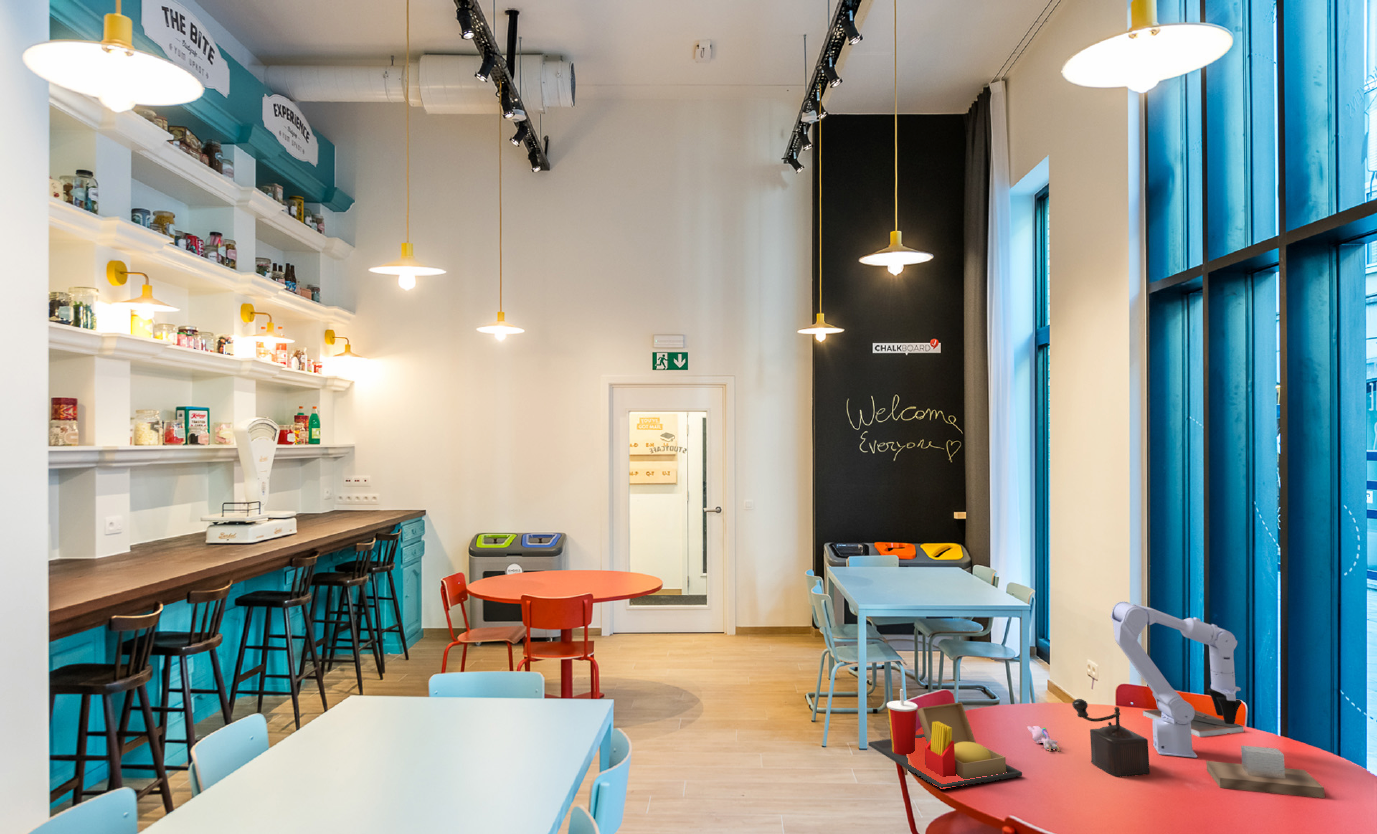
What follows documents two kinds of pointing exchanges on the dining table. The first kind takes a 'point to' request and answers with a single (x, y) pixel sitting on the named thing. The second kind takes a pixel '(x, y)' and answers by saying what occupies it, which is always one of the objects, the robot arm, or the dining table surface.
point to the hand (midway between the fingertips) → (1225, 719)
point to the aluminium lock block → (1263, 762)
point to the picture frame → (1202, 724)
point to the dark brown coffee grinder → (1116, 746)
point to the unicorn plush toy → (1042, 737)
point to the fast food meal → (941, 744)
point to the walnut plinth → (1265, 780)
